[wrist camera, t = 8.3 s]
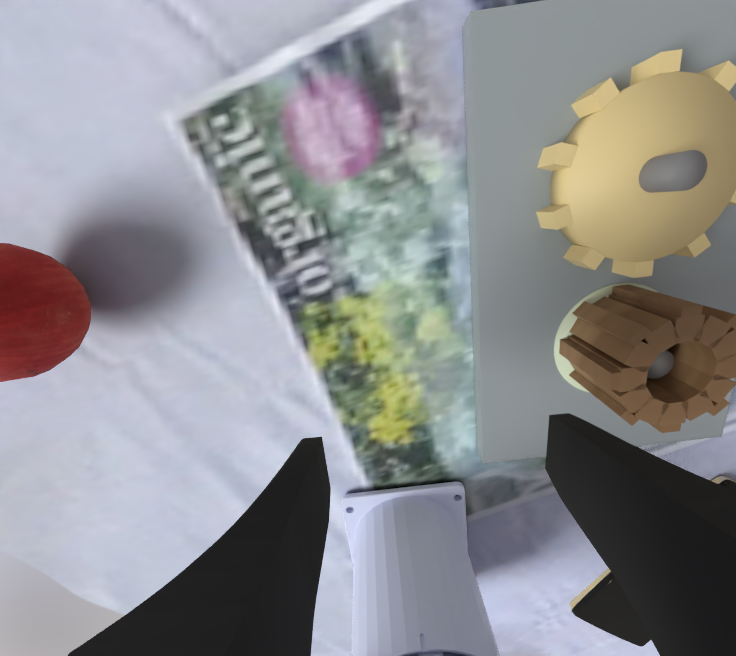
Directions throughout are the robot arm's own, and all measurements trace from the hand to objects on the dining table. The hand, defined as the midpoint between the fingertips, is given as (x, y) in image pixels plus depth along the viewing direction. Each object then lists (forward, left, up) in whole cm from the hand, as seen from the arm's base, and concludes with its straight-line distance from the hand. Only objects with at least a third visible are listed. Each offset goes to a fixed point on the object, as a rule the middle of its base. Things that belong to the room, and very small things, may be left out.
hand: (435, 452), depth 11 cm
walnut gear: (-1, -11, -8) cm, 13 cm away
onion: (+5, +17, -9) cm, 20 cm away
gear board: (+3, -11, -9) cm, 15 cm away
